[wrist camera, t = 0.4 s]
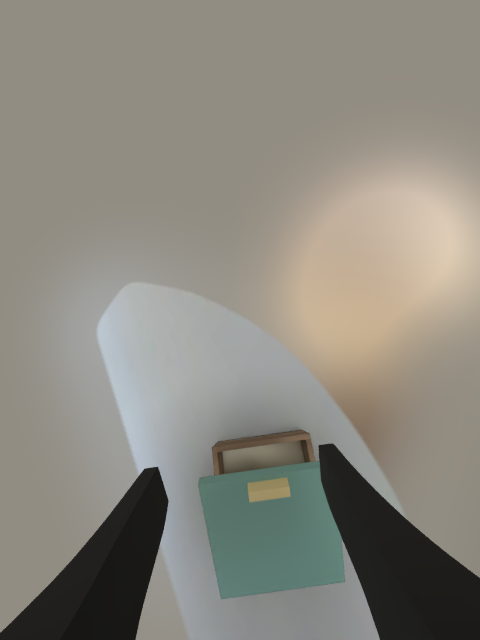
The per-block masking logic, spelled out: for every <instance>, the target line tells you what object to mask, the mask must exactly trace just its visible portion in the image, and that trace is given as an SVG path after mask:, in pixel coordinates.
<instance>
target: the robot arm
mask: <svg viewBox="0 0 480 640" xmlns="http://www.w3.org/2000/svg"><path fill="white" fill-rule="evenodd" d="M319 459H320V474H321V483H322V486H323V489H324V492H325V496H326V499H327V502H328V505H329V508H330V510H331V513H332V515H333V518H334V520H335V523H336V525H337V527H338V530H339V532H340V535H341V537H342V539H343V542H344V544H345V547H346V549H347V551H348V554H349V556H350V559H351V561H352V563H353V566H354V568H355V571H356V573H357V575H358V578H359V580H360V583H361V586H362V588H363V591H364V593H365V596H366V599H367V602H368V605H369V608H370V611H371V614H372V617H373V620H374V623H375V626H376V628H377V631H378V634H379V637H380V640H480V578H479V577H478V576H476V575H475V574H473V573H472V572H471V571H470V570H468V569H467V568H466V567H464V566H463V565H462V564H460V563H459V562H458V561H456V560H455V559H454V558H452V557H451V556H450V555H449V554H447V553H446V552H445V551H444V550H442V549H441V548H440V547H439V546H437V545H436V544H435V543H434V542H432V541H431V540H430V539H429V538H428V537H426V536H425V535H424V534H423V533H422V532H420V531H419V530H418V529H417V528H416V527H415V526H413V525H412V524H411V523H410V522H409V521H408V520H407V519H406V518H404V517H403V516H402V515H401V514H400V513H399V512H398V511H397V510H396V509H395V508H394V507H393V506H391V505H390V504H389V503H388V502H387V501H386V500H385V499H384V498H383V497H382V496H381V495H380V494H379V493H378V492H377V491H376V490H375V489H374V488H373V487H372V486H371V485H370V484H369V483H368V482H367V481H366V480H365V479H364V478H363V477H362V476H361V475H360V473H359V472H358V471H357V470H356V469H355V468H354V467H353V466H352V465H351V464H350V462H349V461H348V460H347V459H346V458H345V457H344V456H343V454H342V453H341V452H340V451H339V450H338V448H337V447H336V446H335V445H334V444H325V445H319ZM167 507H168V498H167V494H166V491H165V488H164V485H163V481H162V478H161V475H160V472H159V469H158V467H153V468H146V469H144V470H143V471H142V473H141V474H140V475H139V477H138V478H137V479H136V481H135V482H134V483H133V485H132V486H131V487H130V489H129V490H128V491H127V493H126V494H125V495H124V497H123V498H122V499H121V501H120V502H119V503H118V505H117V506H116V507H115V508H114V510H113V511H112V512H111V514H110V515H109V516H108V518H107V519H106V520H105V521H104V522H103V524H102V525H101V526H100V527H99V529H98V530H97V531H96V532H95V533H94V535H93V536H92V537H91V538H90V539H89V541H88V542H87V543H86V544H85V545H84V547H83V548H82V549H81V550H80V551H79V552H78V554H77V555H76V556H75V557H74V558H73V559H72V561H71V562H70V563H69V564H68V565H67V566H66V567H65V568H64V570H62V571H61V573H60V574H59V575H58V576H57V577H56V578H55V579H54V580H53V581H52V582H51V583H50V584H49V585H48V586H47V587H46V588H45V589H44V590H43V591H42V592H41V593H40V594H39V596H37V597H36V598H35V599H34V600H33V601H32V602H31V603H30V604H29V606H27V607H26V608H25V609H24V611H22V612H21V613H20V614H19V615H18V616H17V617H16V618H15V619H14V620H13V621H12V623H10V624H9V625H8V626H7V627H6V628H5V629H4V630H3V631H2V632H1V633H0V640H135V639H136V634H137V629H138V625H139V620H140V616H141V611H142V608H143V604H144V599H145V596H146V592H147V589H148V585H149V582H150V578H151V574H152V571H153V567H154V564H155V560H156V556H157V553H158V549H159V545H160V542H161V538H162V534H163V530H164V525H165V520H166V514H167Z"/></svg>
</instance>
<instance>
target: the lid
mask: <svg viewBox="0 0 480 640" xmlns="http://www.w3.org/2000/svg"><path fill="white" fill-rule="evenodd" d="M198 486H199V491H200V496H201V501H202V506H203V511H204V516H205V521H206V526H207V531H208V536H209V541H210V546H211V551H212V556H213V561H214V566H215V571H216V576H217V581H218V586H219V591H220V596H221V599H225V598H233V597H240V596H247V595H254V594H261V593H268V592H276V591H283V590H290V589H297V588H304V587H311V586H319V585H326V584H333V583H340V582H345V575H344V564H343V552H342V541H341V535H340V532H339V530H338V527H337V525H336V523H335V520H334V518H333V515H332V513H331V510H330V508H329V505H328V502H327V499H326V496H325V492H324V489H323V486H322V483H321V474H320V461H314V462H307V463H300V464H293V465H286V466H279V467H272V468H265V469H258V470H251V471H244V472H237V473H230V474H223V475H216V476H208V477H201V478H199V484H198Z"/></svg>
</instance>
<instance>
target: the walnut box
mask: <svg viewBox="0 0 480 640" xmlns="http://www.w3.org/2000/svg"><path fill="white" fill-rule="evenodd" d="M212 451H213V463H214V475H215V476H216V475H223V474H230V473H237V472H244V471H251V470H258V469H265V468H272V467H279V466H286V465H293V464H300V463H307V462H314V461H315V457H314V452H313V448H312V443H311V438H310V434H309V433H307V432H305V431H303V430H297V431H290V432H283V433H276V434H269V435H262V436H255V437H248V438H241V439H234V440H227V441H220V442H217V443H216V444H215V445H214V446H213V447H212Z"/></svg>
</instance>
